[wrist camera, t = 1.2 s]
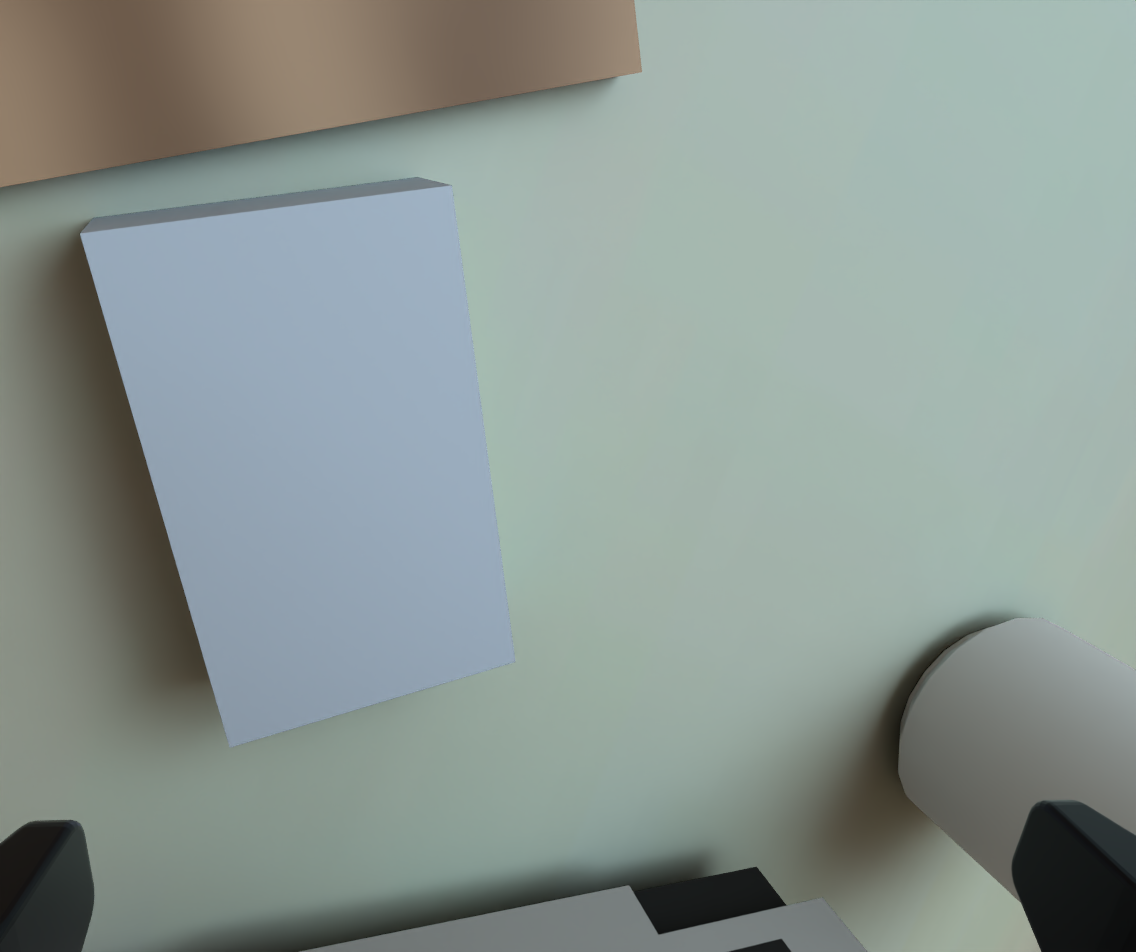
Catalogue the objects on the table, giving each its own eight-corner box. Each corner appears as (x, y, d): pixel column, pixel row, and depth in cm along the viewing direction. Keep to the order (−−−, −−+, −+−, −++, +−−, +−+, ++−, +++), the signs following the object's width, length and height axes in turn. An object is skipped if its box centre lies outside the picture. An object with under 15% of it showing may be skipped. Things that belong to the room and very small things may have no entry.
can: (838, 756, 29) (1206, 1111, 19) (983, 566, 29) (1444, 821, 18) (960, 825, 33) (1324, 1153, 22) (1090, 658, 32) (1524, 913, 22)
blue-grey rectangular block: (222, 669, 21) (229, 748, 18) (94, 215, 17) (80, 233, 14) (476, 599, 23) (515, 662, 20) (413, 176, 19) (452, 185, 16)
